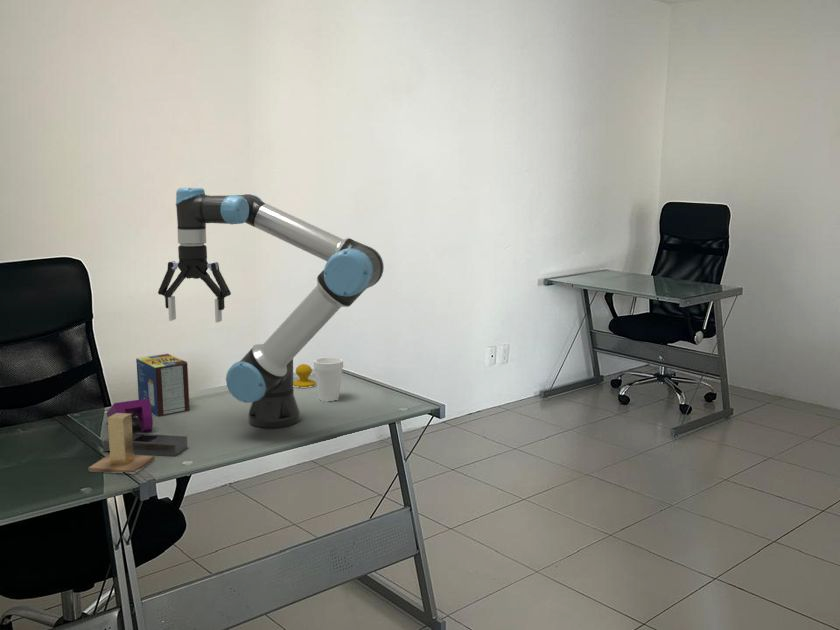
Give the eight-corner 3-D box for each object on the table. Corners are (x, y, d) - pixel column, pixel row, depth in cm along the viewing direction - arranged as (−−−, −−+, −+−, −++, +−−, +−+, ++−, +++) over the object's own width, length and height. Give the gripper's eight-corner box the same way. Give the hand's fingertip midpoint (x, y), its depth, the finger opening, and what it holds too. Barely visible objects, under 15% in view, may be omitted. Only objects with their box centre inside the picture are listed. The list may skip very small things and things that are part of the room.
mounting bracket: (108, 443, 226) (118, 433, 212) (104, 415, 228) (114, 403, 213) (141, 437, 231) (154, 427, 217) (137, 410, 233) (149, 398, 218)
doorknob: (287, 386, 268) (302, 381, 275) (305, 389, 264) (320, 384, 271) (287, 365, 267) (302, 361, 273) (304, 368, 263) (320, 364, 269)
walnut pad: (154, 460, 197) (154, 456, 196) (134, 474, 187) (134, 470, 187) (110, 457, 198) (110, 453, 198) (88, 471, 189) (88, 467, 188)
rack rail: (187, 447, 206) (187, 436, 206) (175, 456, 199) (175, 445, 199) (117, 442, 209) (117, 432, 209) (103, 451, 202) (102, 440, 202)
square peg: (133, 459, 194) (131, 413, 192) (125, 465, 190) (122, 418, 188) (119, 458, 195) (116, 412, 193) (110, 464, 191) (107, 417, 189)
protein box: (170, 399, 250) (167, 353, 248) (190, 410, 239) (188, 361, 236) (137, 405, 244) (135, 357, 241) (157, 417, 232) (154, 367, 229)
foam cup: (341, 403, 248) (341, 364, 246) (312, 403, 248) (312, 363, 246) (344, 395, 257) (344, 357, 255) (316, 394, 258) (316, 357, 255)
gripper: (240, 244, 213) (243, 319, 217) (156, 242, 217) (159, 316, 221) (230, 246, 206) (233, 324, 210) (142, 244, 210) (146, 321, 213)
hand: (195, 320), depth 215 cm, fingers open, 13 cm apart
